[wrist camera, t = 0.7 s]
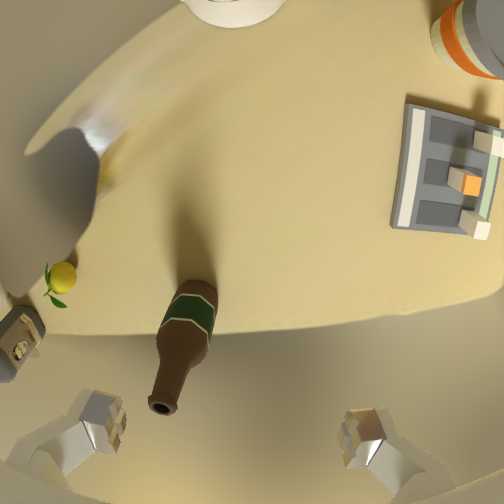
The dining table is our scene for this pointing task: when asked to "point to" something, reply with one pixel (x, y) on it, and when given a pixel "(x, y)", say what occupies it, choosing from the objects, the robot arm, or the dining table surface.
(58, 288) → the lemon
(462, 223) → the block
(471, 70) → the reusable coffee cup
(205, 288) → the beer bottle
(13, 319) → the liquor
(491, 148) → the block
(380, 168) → the dining table surface
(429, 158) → the panel
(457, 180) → the block
